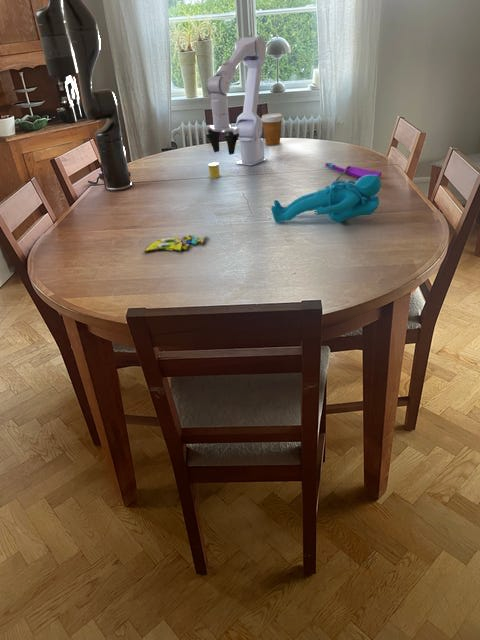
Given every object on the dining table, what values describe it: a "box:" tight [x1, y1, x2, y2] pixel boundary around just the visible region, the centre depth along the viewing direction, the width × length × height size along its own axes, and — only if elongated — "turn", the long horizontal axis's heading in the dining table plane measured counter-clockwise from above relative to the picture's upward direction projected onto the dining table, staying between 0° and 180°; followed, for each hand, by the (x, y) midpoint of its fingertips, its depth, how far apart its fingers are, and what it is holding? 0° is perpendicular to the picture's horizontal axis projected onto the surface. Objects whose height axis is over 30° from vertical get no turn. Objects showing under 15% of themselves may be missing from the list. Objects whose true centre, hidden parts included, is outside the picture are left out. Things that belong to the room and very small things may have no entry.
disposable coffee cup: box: [260, 112, 283, 146], centre depth 214 cm, size 10×10×12 cm
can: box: [208, 162, 221, 179], centre depth 180 cm, size 4×4×5 cm
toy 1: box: [144, 234, 207, 254], centre depth 130 cm, size 10×1×15 cm
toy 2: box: [270, 175, 382, 224], centre depth 134 cm, size 17×11×30 cm
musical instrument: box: [324, 162, 382, 185], centre depth 168 cm, size 24×2×20 cm
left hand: (75, 120), depth 135 cm, fingers open, 8 cm apart
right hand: (224, 152), depth 177 cm, fingers open, 7 cm apart
